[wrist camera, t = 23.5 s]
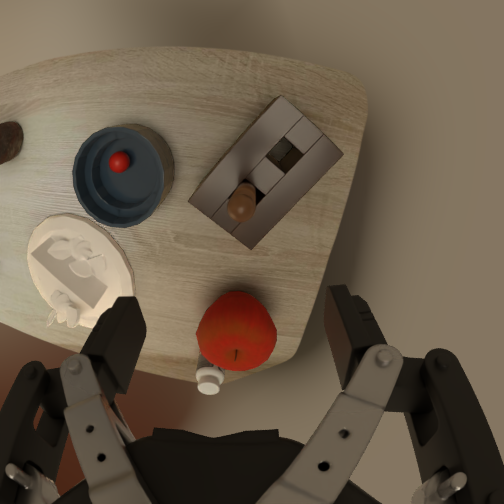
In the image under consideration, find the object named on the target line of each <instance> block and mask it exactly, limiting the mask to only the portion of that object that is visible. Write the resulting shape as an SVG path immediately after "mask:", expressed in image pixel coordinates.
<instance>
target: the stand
mask: <svg viewBox="0 0 504 504" xmlns="http://www.w3.org/2000/svg"><path fill="white" fill-rule="evenodd" d="M283 137H284V138H285V139H286V140H287V141H289V142H290V143H291V144H292V145H293V146H294V147H293V148H292V149H291V151H290V152H289V153H288V154H287V155H286V156H285V157H284V158H283V159H282V160H281V161H280V162H278V161H277V160H276V159H274V158H273V157H272V156H271V155H270V154H269V152H270V150H271V149H272V148H273V147H274V146H275V145H276V144H277V143H278V142H279V141H280V140H281V139H282V138H283ZM343 155H344V153H343V152H342V151H341V150H340V149H339V148H338V147H337V146H336V145H335V144H334V143H333V142H332V141H331V140H330V139H329V138H328V137H327V136H326V135H325V134H324V133H323V132H322V131H321V130H319V129H318V128H317V127H316V126H315V125H314V124H313V123H312V122H311V121H310V120H309V119H308V118H307V117H306V116H305V115H303V114H302V113H301V112H300V111H299V110H298V109H297V108H296V107H295V106H294V105H292V104H291V103H290V102H289V101H288V100H287V99H286V98H284V97H283V96H282V95H280V96H278V97H276V98H275V99H274V100H273V101H272V102H271V103H270V104H269V105H268V106H267V107H266V108H265V109H264V110H263V111H262V112H261V113H260V115H259V116H258V117H257V118H256V119H255V120H254V121H253V122H252V123H251V124H250V125H249V127H248V128H247V129H246V130H245V131H244V132H243V133H242V134H241V135H240V137H239V138H238V139H237V140H236V141H235V142H234V143H233V145H232V146H231V147H230V148H229V149H228V150H227V151H226V153H225V154H224V155H223V156H222V157H221V158H220V160H219V161H218V162H217V163H216V164H215V166H214V167H213V168H212V169H211V170H210V172H209V173H208V174H207V175H206V176H205V178H204V179H203V180H202V181H201V183H200V184H199V185H198V187H197V188H196V190H195V191H194V193H193V194H192V196H191V197H190V199H189V201H188V202H189V203H190V204H192V205H193V206H194V207H196V208H197V209H198V210H199V211H201V212H202V213H203V214H205V215H206V216H207V217H209V218H210V219H211V220H213V221H214V222H215V223H216V224H218V225H219V226H220V227H222V228H223V229H224V230H226V231H227V232H228V233H230V234H231V235H232V236H233V237H235V238H236V239H237V240H239V241H240V242H241V243H242V244H244V245H245V246H246V247H248V248H249V249H250V250H252V249H253V248H254V247H255V246H256V244H257V243H258V242H259V241H260V240H261V239H262V238H263V237H264V236H265V235H266V234H267V233H268V232H269V231H270V230H271V229H272V228H273V227H274V226H275V225H276V224H277V223H278V222H279V221H280V220H281V219H282V218H283V217H284V216H285V215H286V213H287V212H288V211H289V210H290V209H291V208H292V207H293V206H294V205H295V204H296V203H297V202H298V201H299V200H300V199H301V198H302V197H303V196H304V195H305V194H306V193H307V192H308V191H309V190H310V189H311V188H312V187H313V186H314V185H315V184H316V183H317V182H318V181H319V179H320V178H321V177H322V176H323V175H324V174H325V173H326V172H327V171H328V170H329V169H330V168H331V167H332V166H333V165H334V164H335V163H336V162H337V161H338V160H339V159H340V158H341V157H342V156H343ZM245 178H246V179H247V180H248V181H249V182H250V183H252V184H253V185H254V186H255V187H256V210H255V213H254V215H253V217H252V218H251V219H249V220H248V221H245V222H237V221H235V220H233V219H232V218H231V217H230V216H229V214H228V212H227V204H228V201H229V200H230V198H231V197H232V195H233V194H234V192H235V191H236V189H237V188H238V186H239V185H240V184H241V182H242V181H243V180H244V179H245Z"/></svg>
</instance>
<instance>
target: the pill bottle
mask: <svg viewBox="0 0 504 504" xmlns="http://www.w3.org/2000/svg"><path fill="white" fill-rule="evenodd" d="M224 373H225V369H223V368H220V367H218V366H216V365H214V364H212V363H210V362H209V361H208V360H207V359H206V358H205V357H204V356H203V355H202V354H201V351H200V352H199V358H198V364H197V370H196V378H197V380H198V390H199V391H200V392H202V393H204V394H208V395H212V394H216V393H218V392H219V387H220V384H221V383H222V382H223V380H224Z"/></svg>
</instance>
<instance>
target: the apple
mask: <svg viewBox="0 0 504 504" xmlns="http://www.w3.org/2000/svg"><path fill="white" fill-rule="evenodd" d="M196 336H197V340H198V344H199V348H200V351H201V354H202V355H203V356H204V357H205V358H206V359H207V360H208V361H209V362H210V363H212V364H214V365H216V366H218V367H220V368H223V369H226V370H232V371H245V370H249V369H253V368H256V367H258V366H260V365H261V364H262V363H264V362H265V361H266V360H268V358H269V357H270V355H271V353H272V352H273V349H274V347H275V344H276V341H277V329H276V327H275V325H274V323H273V321H272V319H271V317H270V315H269V313H268V312H267V310H266V308H265V307H264V306H263V305H262V304H261V303H260V302H259V301H258V300H257V299H256V298H254V297H253V296H252V295H250V294H248V293H245V292H241V291H230V292H228V293H226V294H224V295H221V296H220V297H219V298H218V299H217V300H216V301H215V302H214V303H213V304H212V305H211V306H210V307H209V308H208V309H207V310H206V312H205V314H204V316H203V318H202V320H201V322H200V324H199V327H198V329H197V332H196Z"/></svg>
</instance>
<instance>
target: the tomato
mask: <svg viewBox="0 0 504 504" xmlns="http://www.w3.org/2000/svg"><path fill="white" fill-rule="evenodd" d="M129 164H130V159H129V156H128V155H127V154H126V153H125V152H122V151H118V152H115V153H114V154H112V156H111V157H110V159H109V167H110V169H111V170H112V171H113V172H115V173H122V172H124V171H126V170H127V169H128V167H129Z"/></svg>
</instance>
